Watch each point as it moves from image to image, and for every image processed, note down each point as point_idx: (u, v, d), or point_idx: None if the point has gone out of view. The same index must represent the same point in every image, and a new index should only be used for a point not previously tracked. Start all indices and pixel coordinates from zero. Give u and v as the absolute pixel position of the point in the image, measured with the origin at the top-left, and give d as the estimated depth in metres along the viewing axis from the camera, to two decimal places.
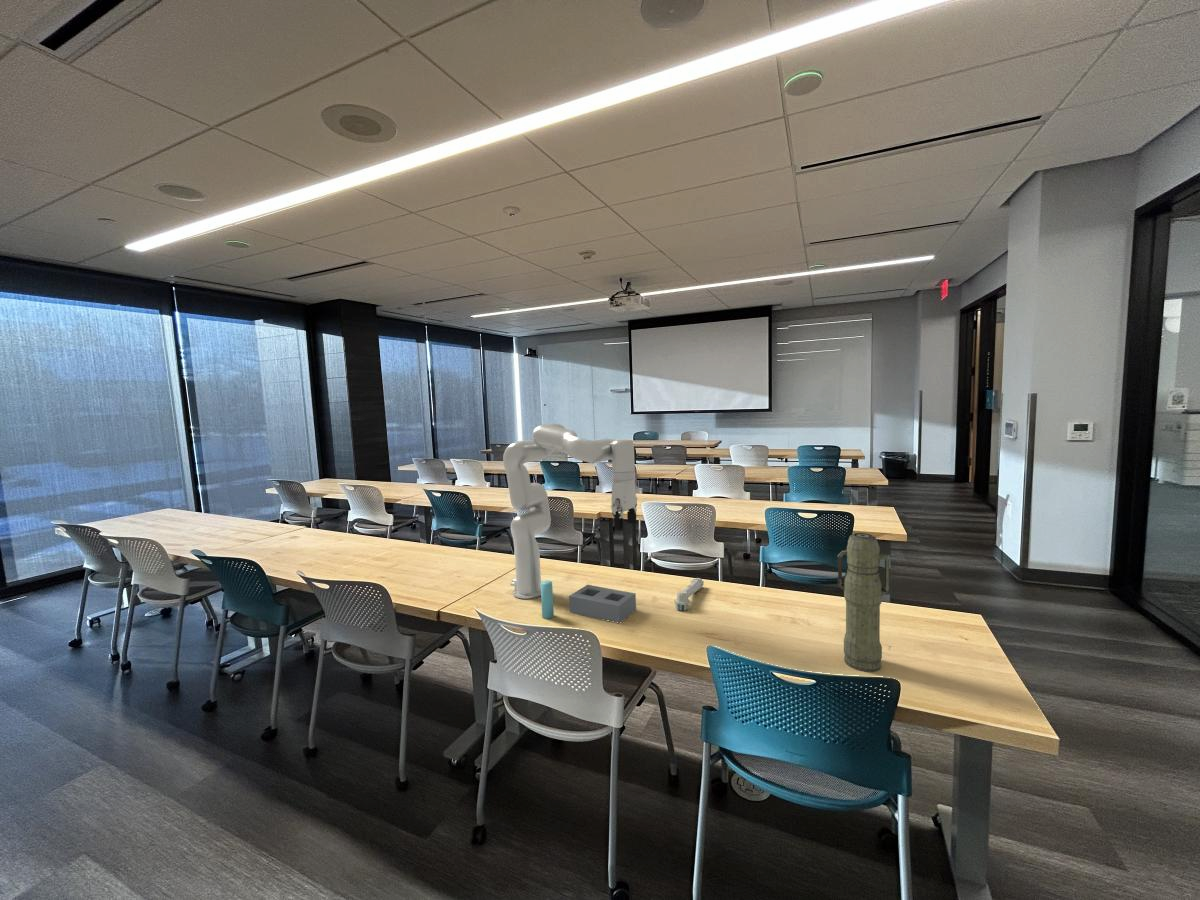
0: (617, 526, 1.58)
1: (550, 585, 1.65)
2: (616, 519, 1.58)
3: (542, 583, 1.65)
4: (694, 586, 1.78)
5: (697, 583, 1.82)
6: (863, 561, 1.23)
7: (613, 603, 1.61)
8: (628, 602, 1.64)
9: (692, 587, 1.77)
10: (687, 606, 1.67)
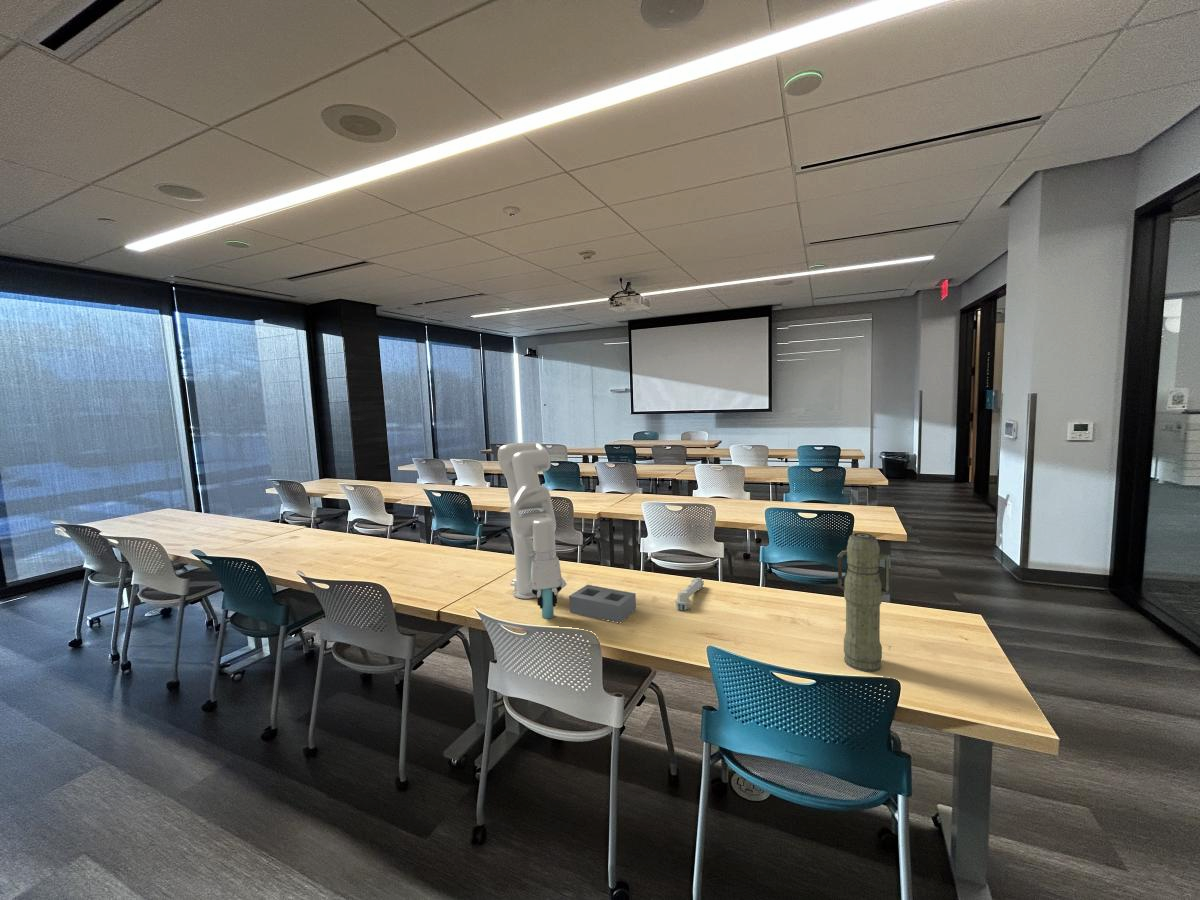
0: (556, 601, 1.67)
1: None
2: (556, 595, 1.67)
3: None
4: (694, 586, 1.79)
5: (697, 583, 1.82)
6: (863, 561, 1.23)
7: (613, 603, 1.61)
8: (628, 602, 1.64)
9: (692, 587, 1.77)
10: (688, 606, 1.67)
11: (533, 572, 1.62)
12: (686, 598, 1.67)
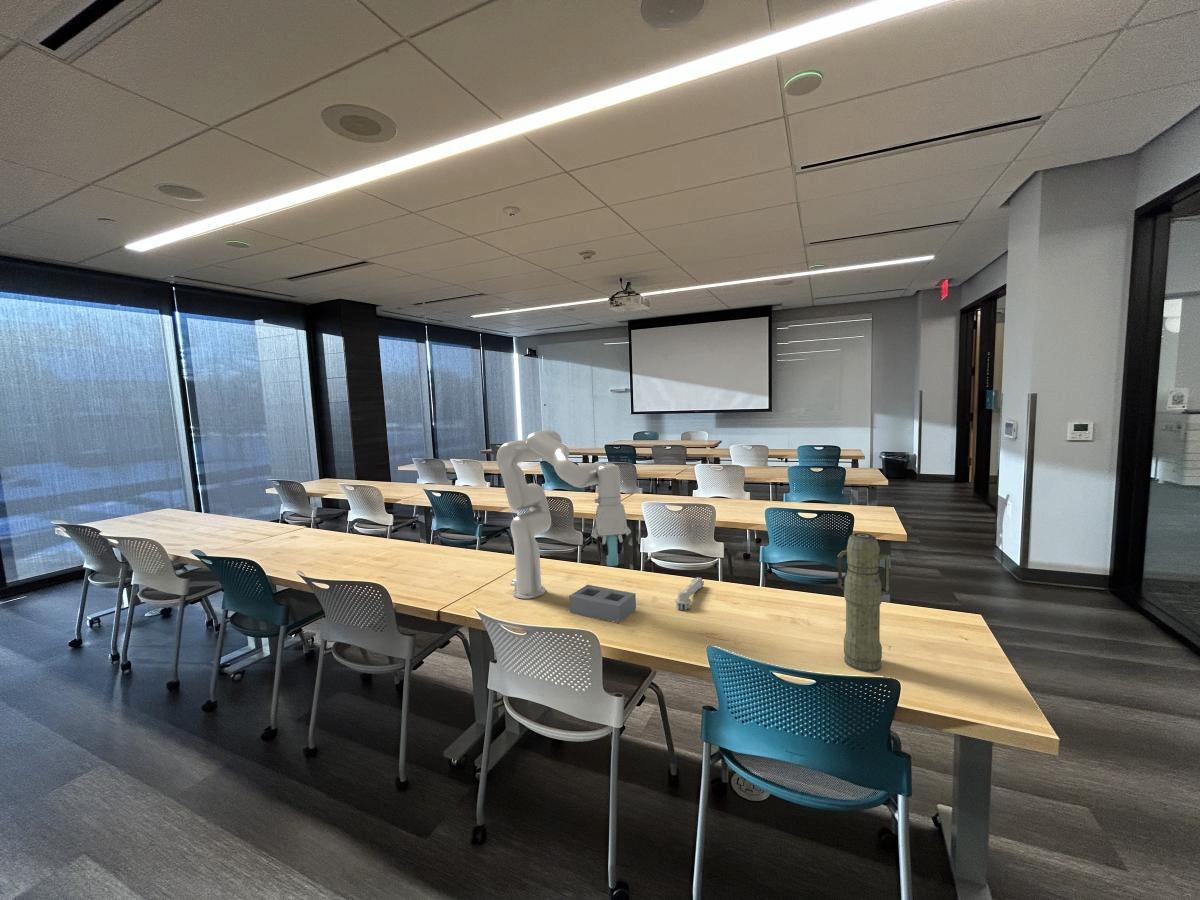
0: None
1: None
2: None
3: None
4: (694, 585, 1.79)
5: (697, 582, 1.83)
6: (863, 561, 1.23)
7: (613, 603, 1.61)
8: (628, 602, 1.64)
9: (692, 586, 1.77)
10: (688, 605, 1.67)
11: (599, 518, 1.60)
12: (686, 598, 1.68)
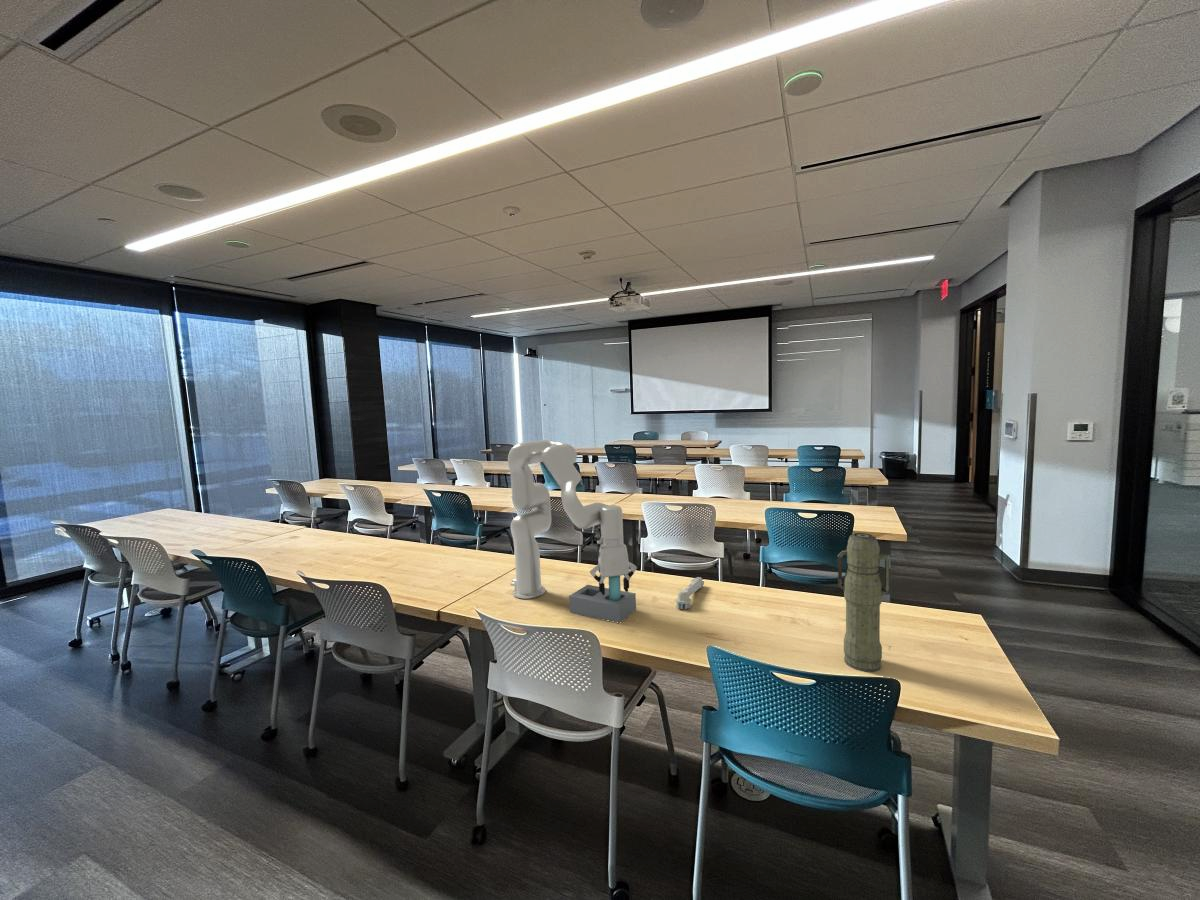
0: None
1: (618, 578, 1.64)
2: None
3: None
4: (695, 585, 1.79)
5: (698, 582, 1.83)
6: (863, 561, 1.23)
7: (613, 603, 1.61)
8: (628, 602, 1.64)
9: (693, 586, 1.77)
10: (688, 605, 1.68)
11: (602, 560, 1.61)
12: (686, 597, 1.68)
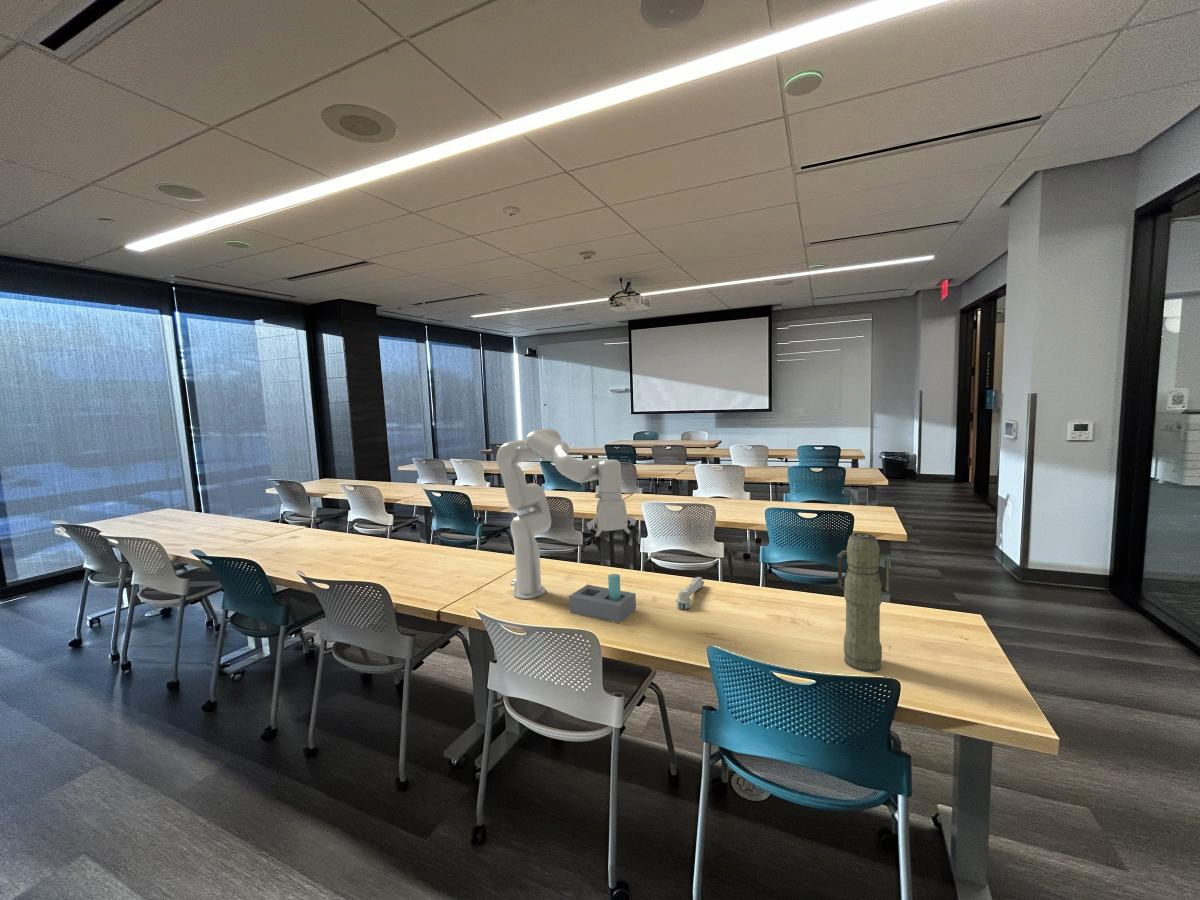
0: None
1: (618, 578, 1.64)
2: None
3: (609, 576, 1.65)
4: (695, 585, 1.79)
5: (698, 582, 1.83)
6: (863, 561, 1.23)
7: (613, 603, 1.61)
8: (628, 602, 1.64)
9: (693, 586, 1.78)
10: (688, 605, 1.68)
11: (600, 513, 1.60)
12: (687, 597, 1.68)
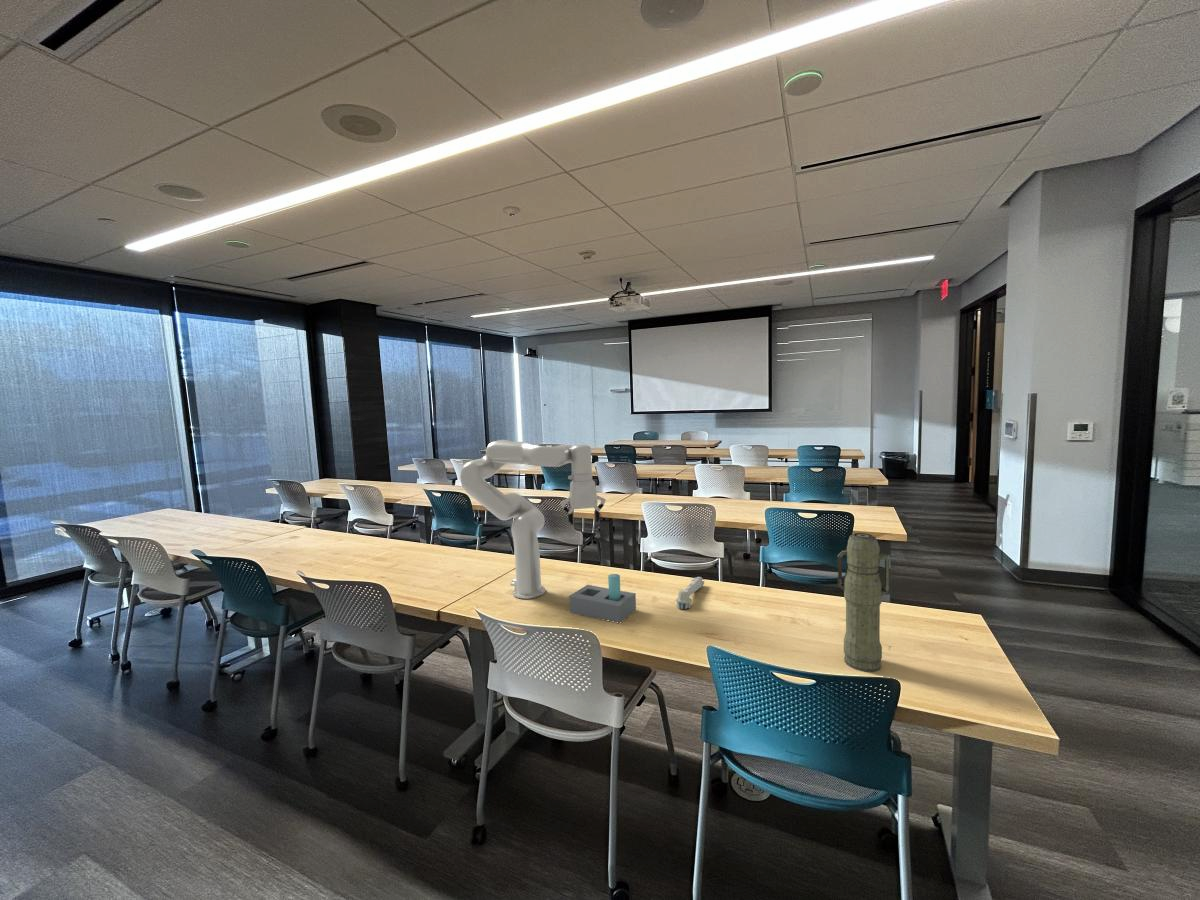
0: None
1: (618, 578, 1.64)
2: None
3: (610, 576, 1.65)
4: (695, 585, 1.79)
5: (698, 582, 1.83)
6: (863, 561, 1.23)
7: (613, 603, 1.61)
8: (628, 602, 1.64)
9: (693, 586, 1.78)
10: (688, 604, 1.68)
11: (572, 493, 1.78)
12: (687, 597, 1.68)
